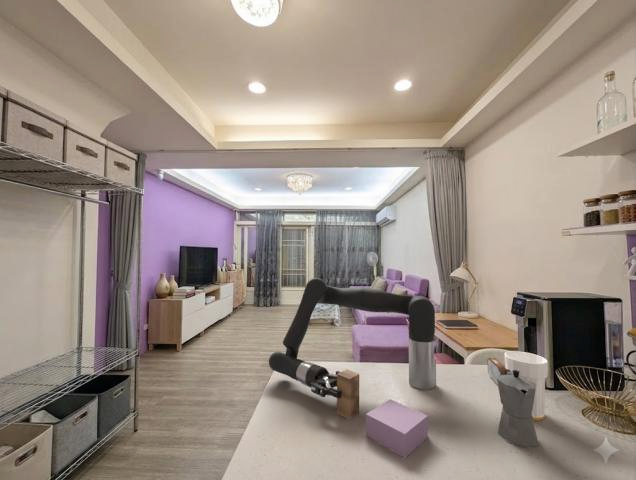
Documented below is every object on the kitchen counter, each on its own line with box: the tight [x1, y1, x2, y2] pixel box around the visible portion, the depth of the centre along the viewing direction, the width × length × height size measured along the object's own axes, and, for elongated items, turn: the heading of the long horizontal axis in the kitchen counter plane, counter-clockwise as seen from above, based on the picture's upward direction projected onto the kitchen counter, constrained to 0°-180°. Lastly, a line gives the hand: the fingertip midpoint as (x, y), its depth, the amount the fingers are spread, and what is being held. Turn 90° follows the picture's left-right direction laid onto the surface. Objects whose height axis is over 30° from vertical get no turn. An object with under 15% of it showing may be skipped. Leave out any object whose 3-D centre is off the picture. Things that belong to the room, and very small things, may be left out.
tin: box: [486, 357, 507, 386], centre depth 113 cm, size 15×3×8 cm, turn 168°
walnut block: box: [336, 369, 360, 420], centre depth 91 cm, size 5×5×12 cm
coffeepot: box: [497, 369, 538, 448], centre depth 81 cm, size 15×9×18 cm, turn 162°
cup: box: [504, 350, 549, 422], centre depth 93 cm, size 11×11×17 cm
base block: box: [365, 398, 429, 459], centre depth 80 cm, size 12×12×6 cm
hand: (349, 390), depth 91 cm, fingers open, 8 cm apart
